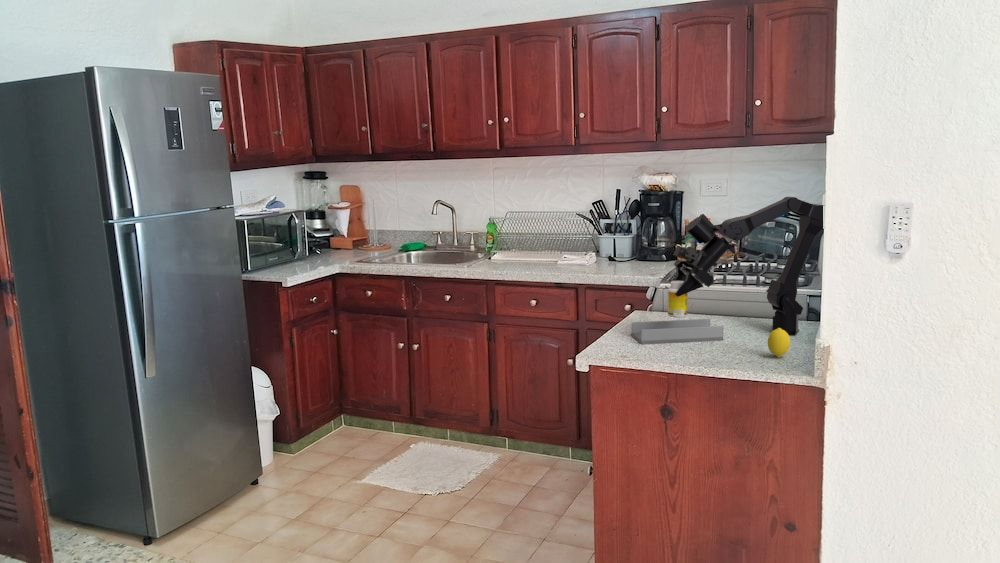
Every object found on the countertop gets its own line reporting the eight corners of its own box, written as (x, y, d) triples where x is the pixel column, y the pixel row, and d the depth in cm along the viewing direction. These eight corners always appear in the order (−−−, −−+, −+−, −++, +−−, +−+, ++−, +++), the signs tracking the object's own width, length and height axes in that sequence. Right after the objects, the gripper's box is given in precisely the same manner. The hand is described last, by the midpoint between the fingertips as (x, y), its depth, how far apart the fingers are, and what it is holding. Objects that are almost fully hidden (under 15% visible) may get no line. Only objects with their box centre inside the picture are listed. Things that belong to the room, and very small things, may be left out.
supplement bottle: (688, 317, 226) (688, 283, 225) (668, 318, 227) (668, 283, 225) (686, 313, 232) (686, 279, 230) (666, 314, 232) (666, 280, 231)
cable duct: (708, 331, 238) (709, 318, 237) (723, 340, 226) (723, 326, 226) (631, 335, 235) (631, 322, 235) (641, 344, 224) (641, 330, 224)
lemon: (763, 355, 209) (764, 326, 208) (783, 354, 209) (784, 325, 208) (772, 360, 204) (773, 330, 202) (793, 359, 204) (794, 329, 203)
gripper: (680, 232, 235) (644, 270, 236) (702, 239, 217) (663, 280, 218) (705, 257, 237) (670, 295, 238) (729, 265, 219) (691, 306, 220)
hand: (673, 293), depth 228 cm, fingers closed on supplement bottle, 5 cm apart
